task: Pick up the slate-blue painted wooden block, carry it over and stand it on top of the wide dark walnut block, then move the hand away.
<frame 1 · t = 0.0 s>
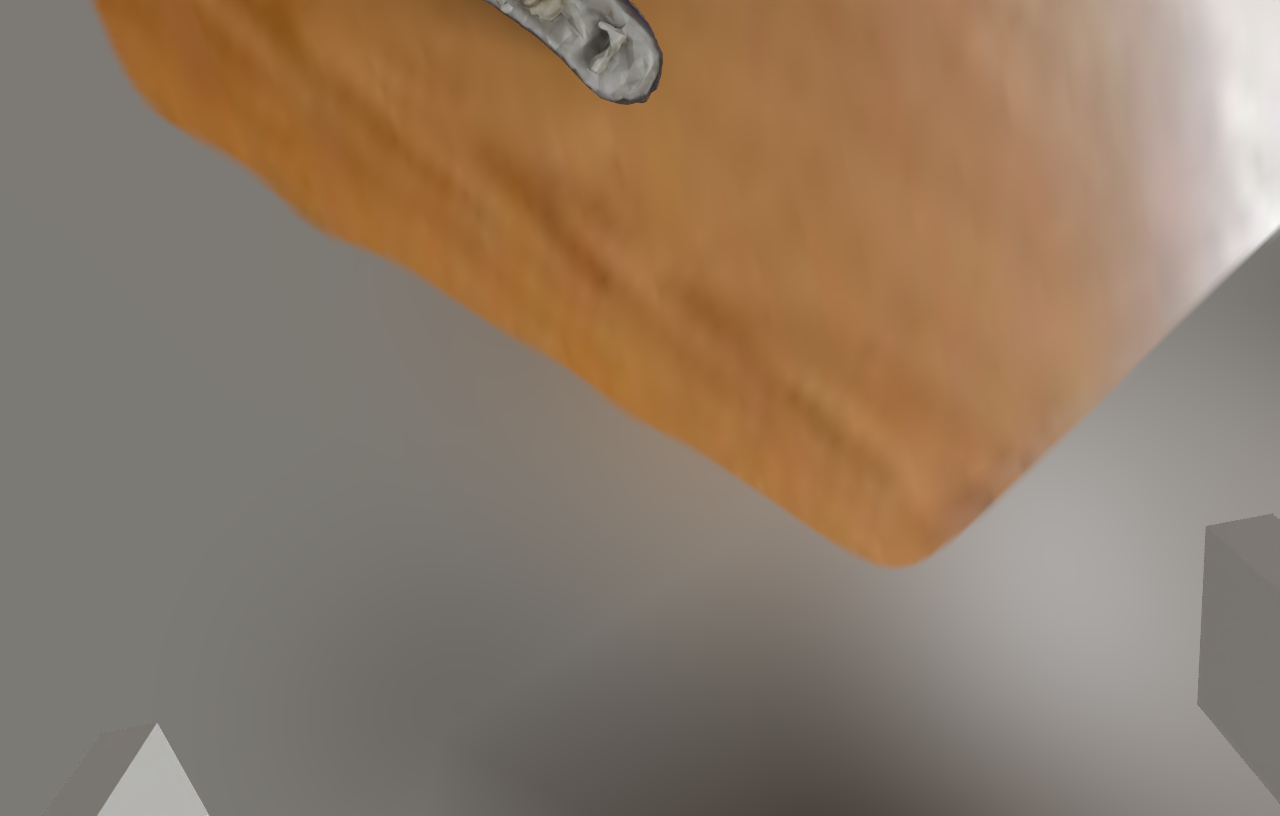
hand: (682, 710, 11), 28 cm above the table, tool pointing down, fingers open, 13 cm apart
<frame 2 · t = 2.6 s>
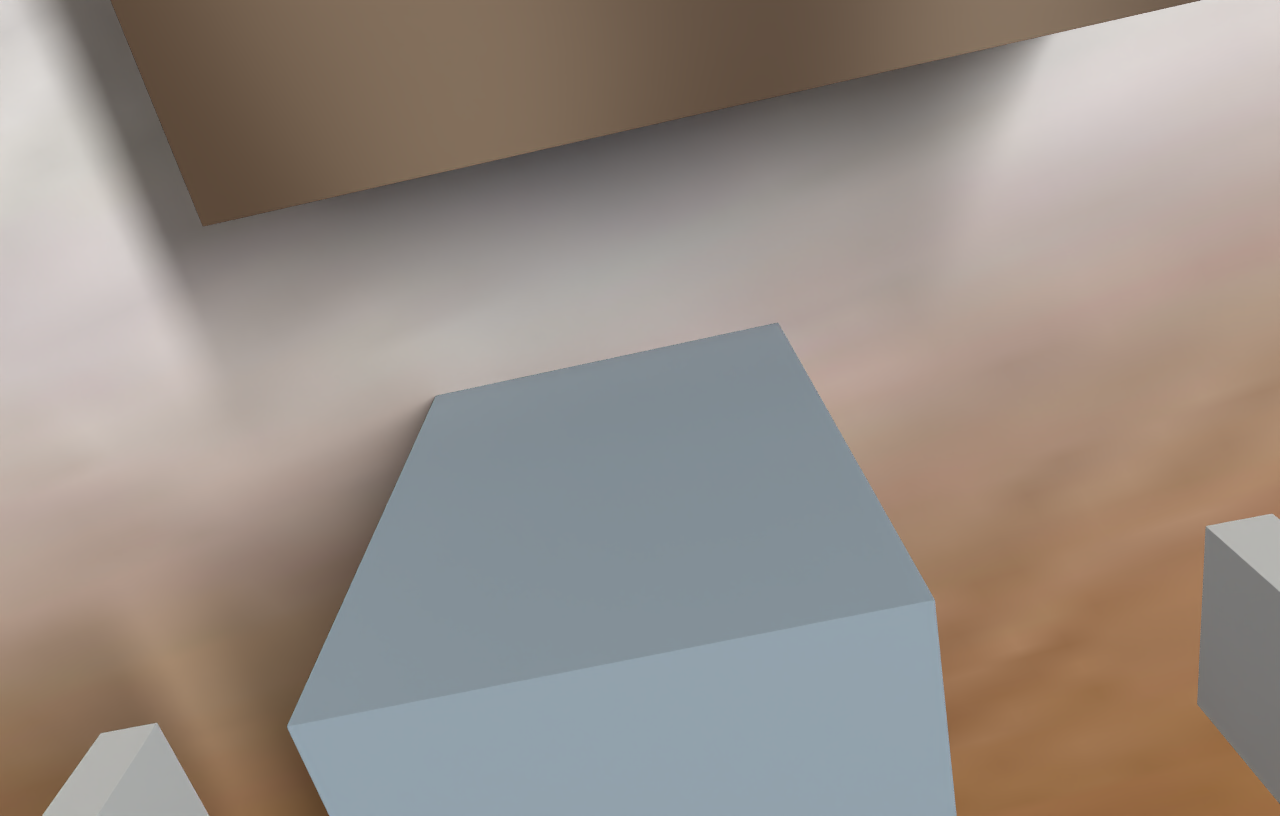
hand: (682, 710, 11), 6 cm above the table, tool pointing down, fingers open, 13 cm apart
slate block: (641, 508, 17), on the table
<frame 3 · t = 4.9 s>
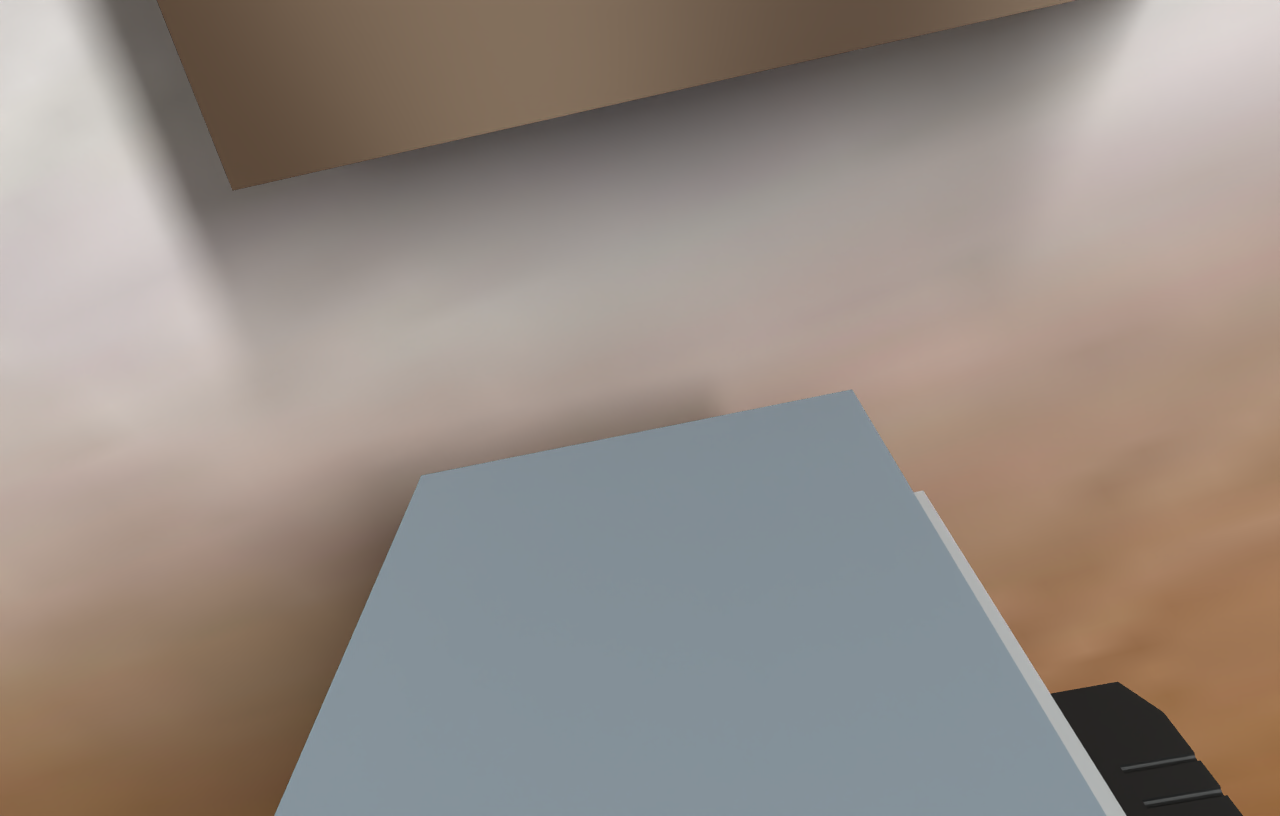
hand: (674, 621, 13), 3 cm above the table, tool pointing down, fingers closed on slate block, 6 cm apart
slate block: (675, 610, 14), point 3 cm above the table, touching gripper
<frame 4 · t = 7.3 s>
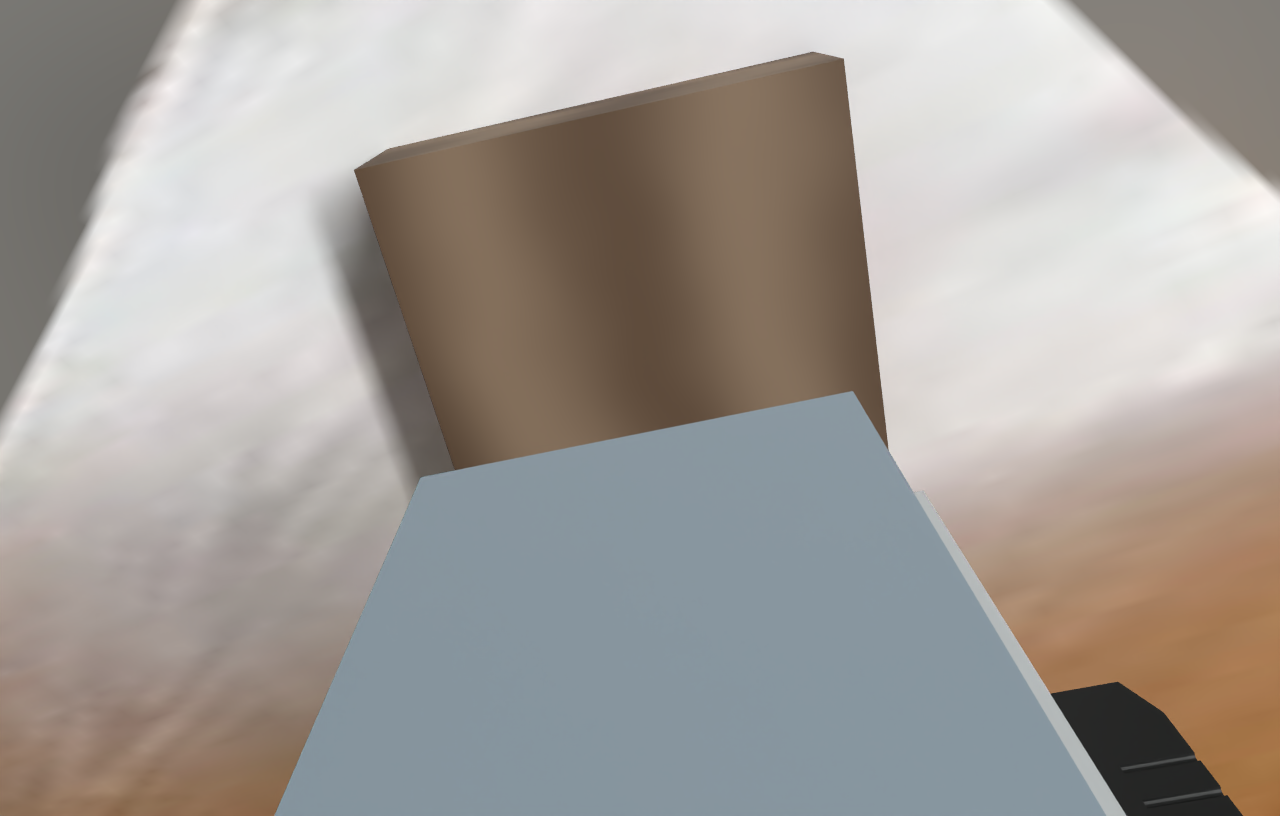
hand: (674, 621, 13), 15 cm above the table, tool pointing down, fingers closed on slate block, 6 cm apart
walnut block: (642, 301, 28), on the table
slate block: (675, 612, 14), point 15 cm above the table, touching gripper
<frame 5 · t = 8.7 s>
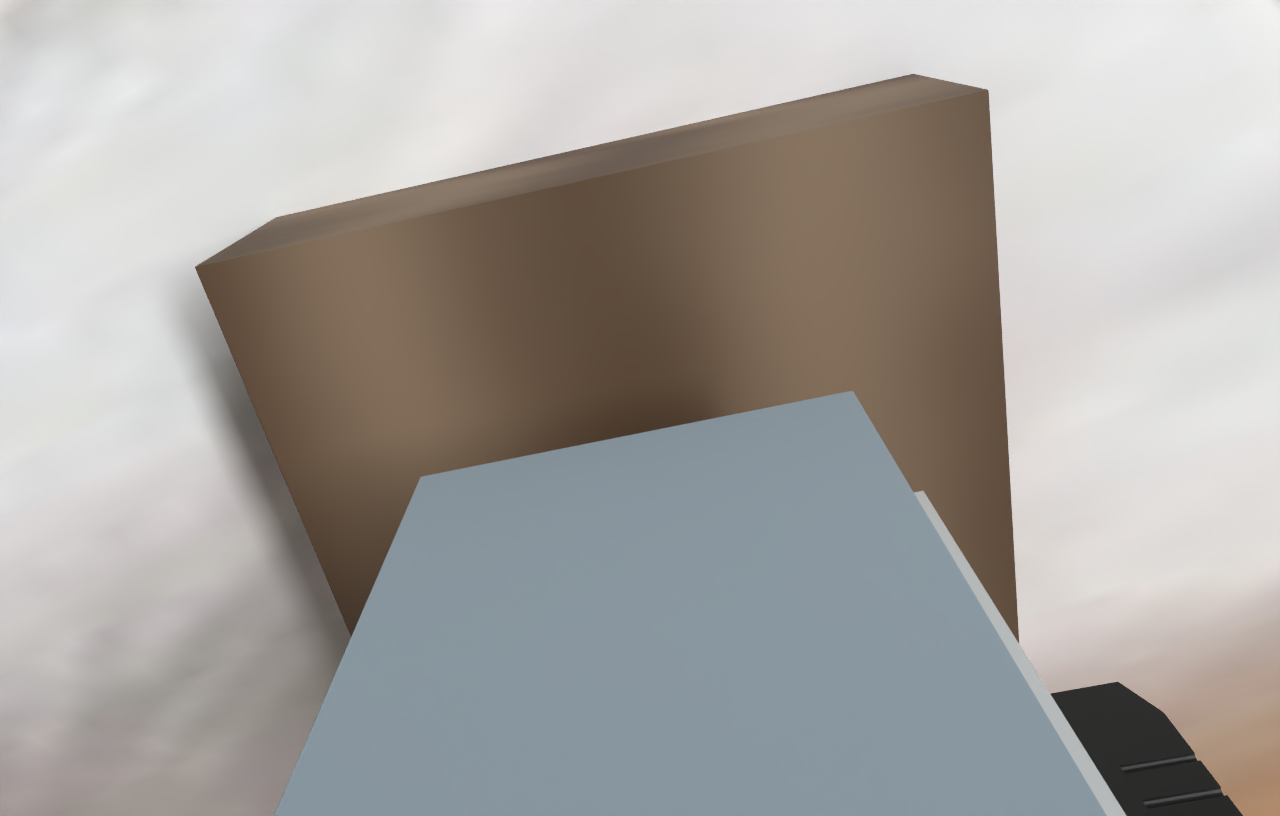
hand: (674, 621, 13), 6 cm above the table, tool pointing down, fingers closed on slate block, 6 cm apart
walnut block: (653, 427, 19), on the table
slate block: (675, 612, 14), point 6 cm above the table, touching gripper
when the fingers open (5 cm above the table, at t = 9.7 s): slate block drops 1 cm, resting on walnut block.
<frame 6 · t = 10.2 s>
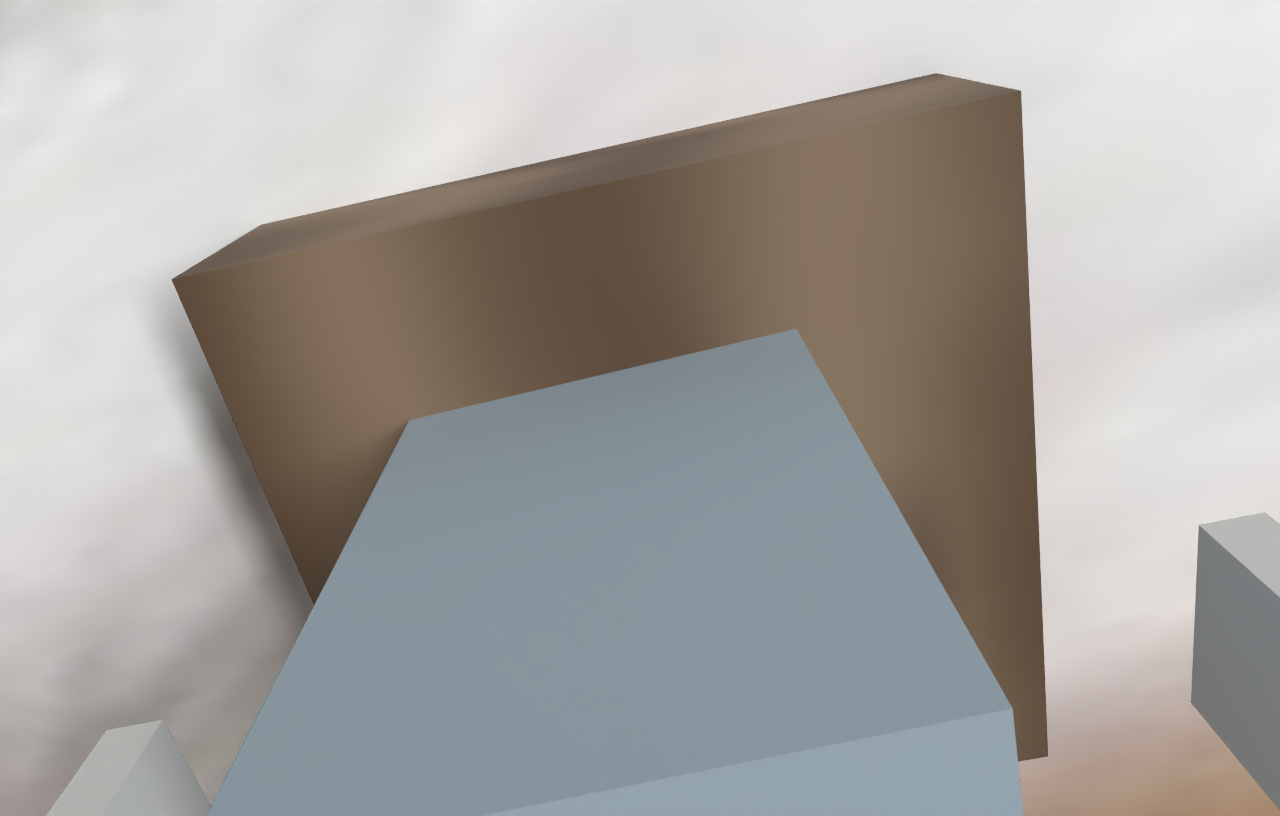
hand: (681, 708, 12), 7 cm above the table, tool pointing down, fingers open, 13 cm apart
walnut block: (658, 442, 19), on the table, touching slate block
slate block: (646, 541, 15), point 4 cm above the table, touching walnut block
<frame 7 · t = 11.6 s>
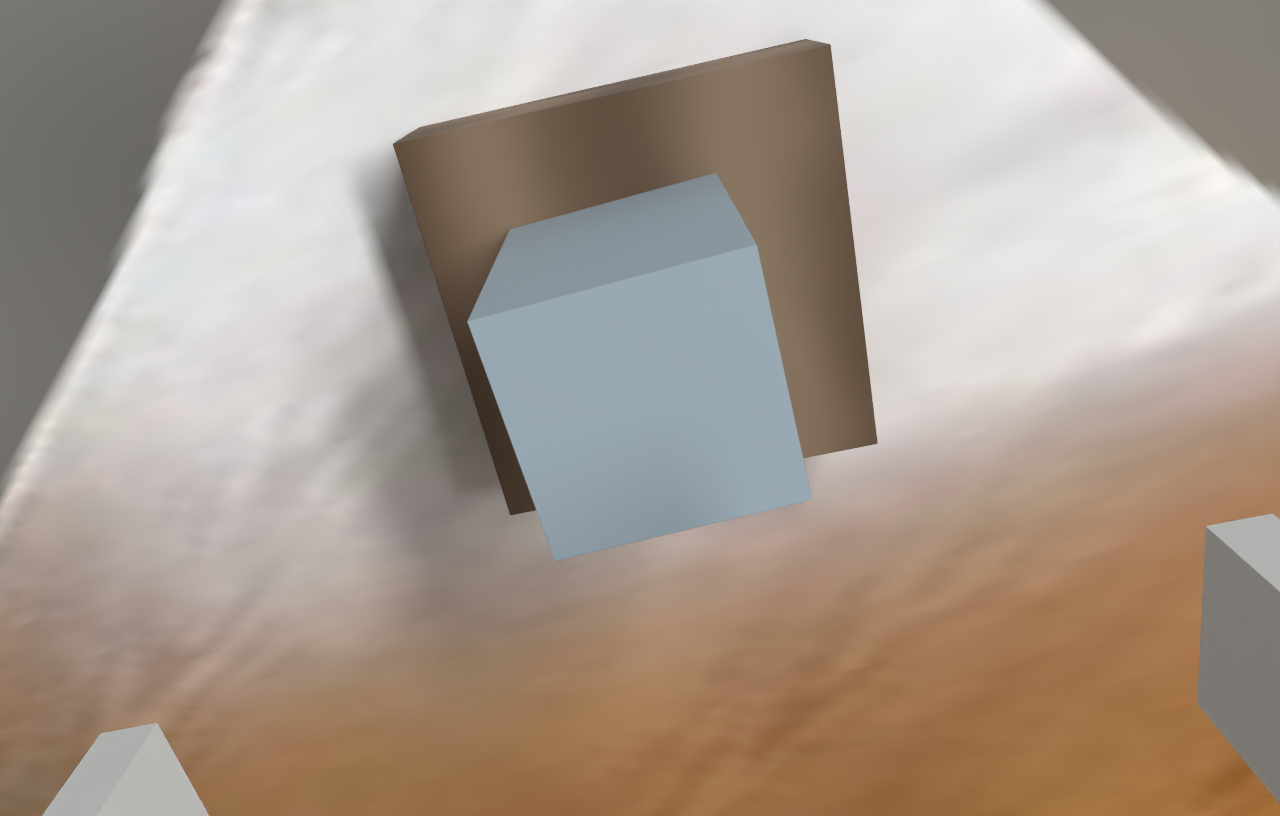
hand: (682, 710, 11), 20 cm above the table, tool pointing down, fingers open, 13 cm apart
walnut block: (649, 268, 30), on the table, touching slate block
slate block: (639, 300, 27), point 3 cm above the table, touching walnut block
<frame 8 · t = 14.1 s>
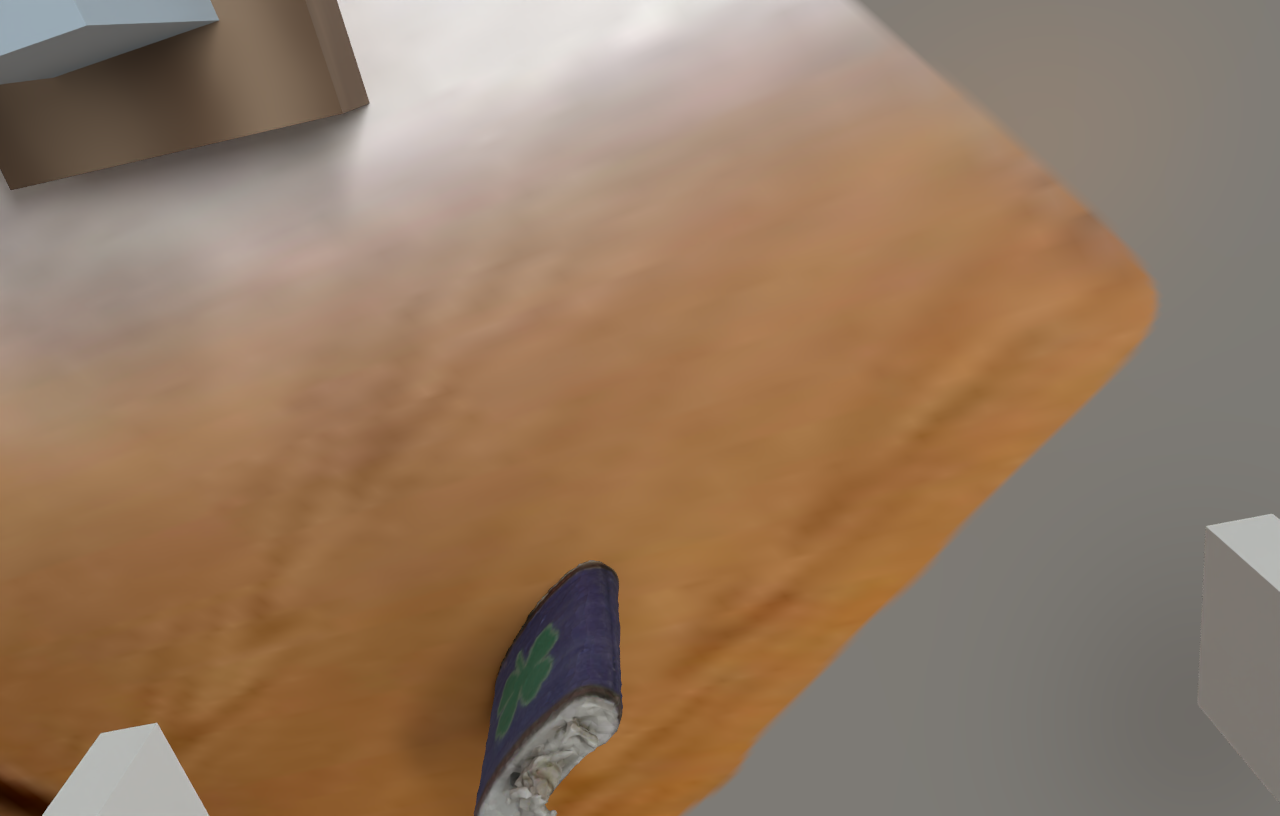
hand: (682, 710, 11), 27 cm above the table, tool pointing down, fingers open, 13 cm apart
flask: (555, 626, 44), on the table
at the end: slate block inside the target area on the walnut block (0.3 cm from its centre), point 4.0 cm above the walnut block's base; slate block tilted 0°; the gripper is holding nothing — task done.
